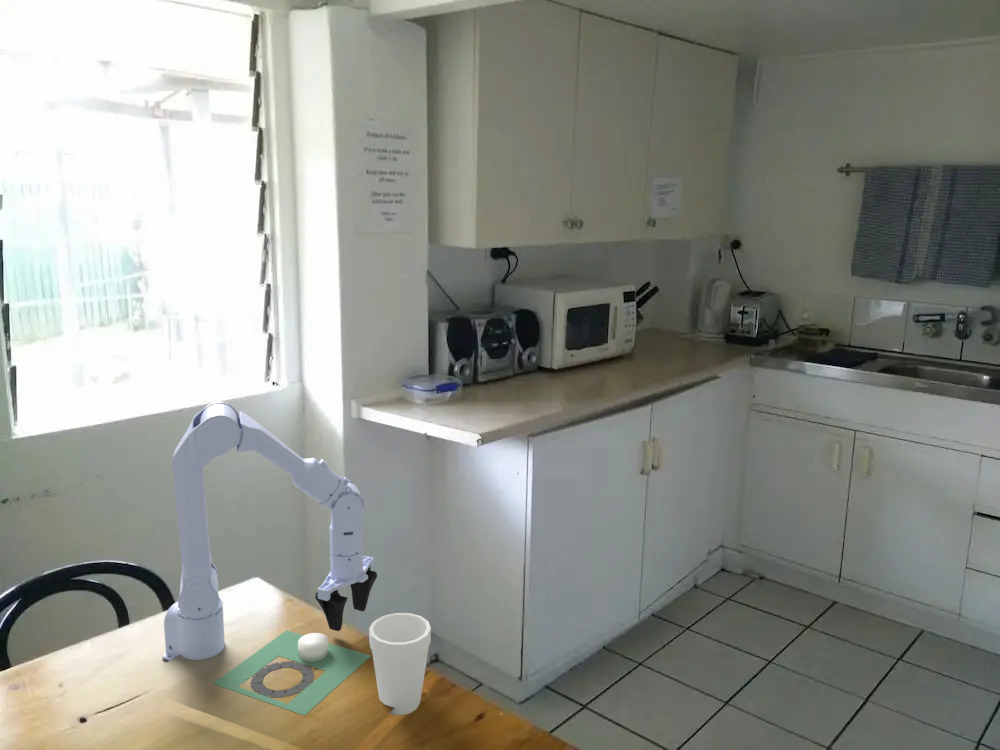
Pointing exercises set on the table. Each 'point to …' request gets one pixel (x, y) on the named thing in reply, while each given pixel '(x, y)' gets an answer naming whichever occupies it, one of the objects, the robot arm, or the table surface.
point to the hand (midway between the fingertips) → (347, 619)
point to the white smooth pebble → (313, 647)
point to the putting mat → (286, 646)
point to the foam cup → (400, 659)
